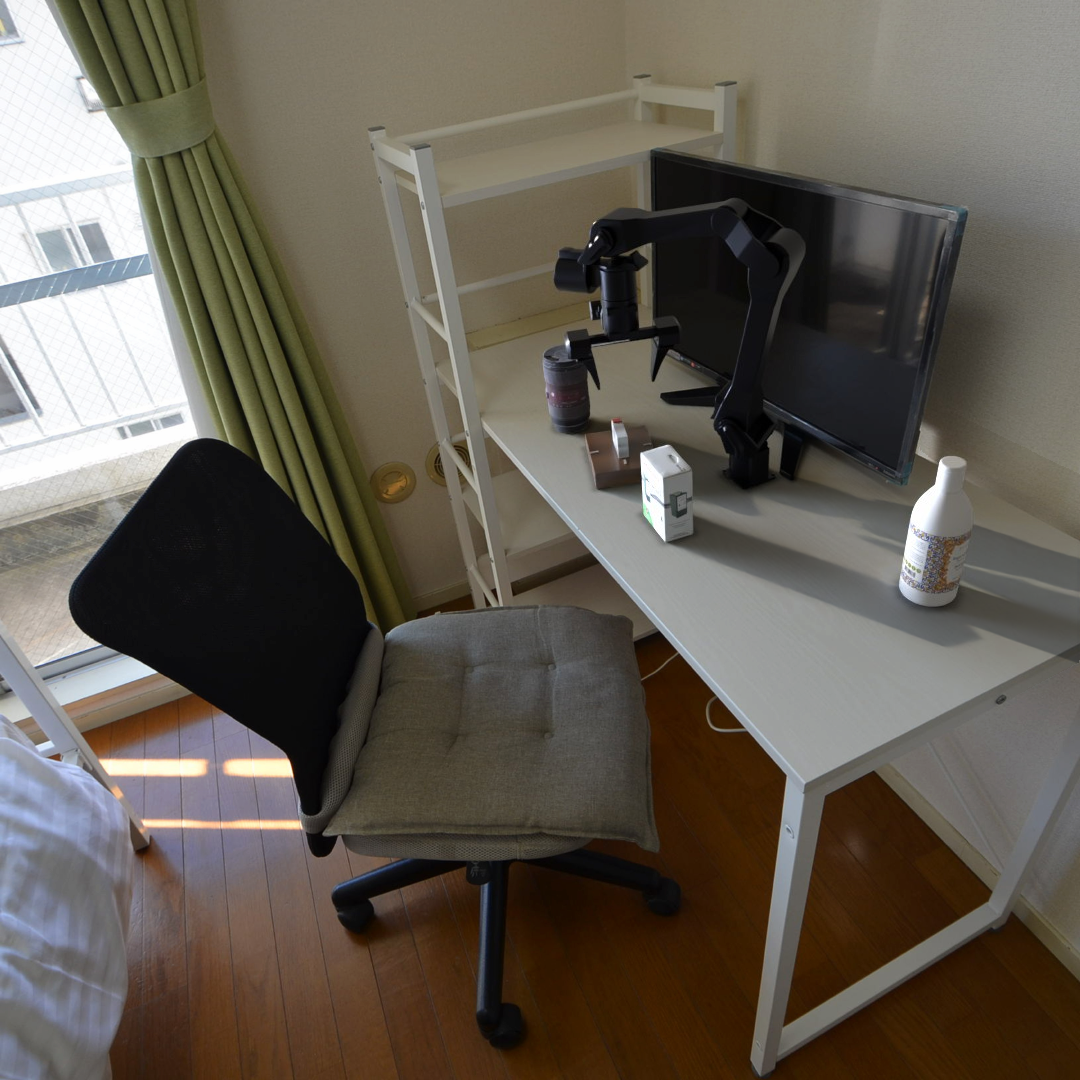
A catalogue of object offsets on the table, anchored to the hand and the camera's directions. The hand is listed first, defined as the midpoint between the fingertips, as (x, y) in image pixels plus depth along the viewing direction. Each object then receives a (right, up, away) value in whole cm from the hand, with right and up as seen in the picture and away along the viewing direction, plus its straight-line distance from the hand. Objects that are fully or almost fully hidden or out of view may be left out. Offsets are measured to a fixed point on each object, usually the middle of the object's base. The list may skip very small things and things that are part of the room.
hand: (625, 385), depth 136 cm
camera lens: (-8, -4, +19) cm, 21 cm away
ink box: (+5, -24, -11) cm, 27 cm away
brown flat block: (0, -13, +5) cm, 14 cm away
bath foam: (+37, -33, -30) cm, 58 cm away
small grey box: (0, -10, +3) cm, 11 cm away
